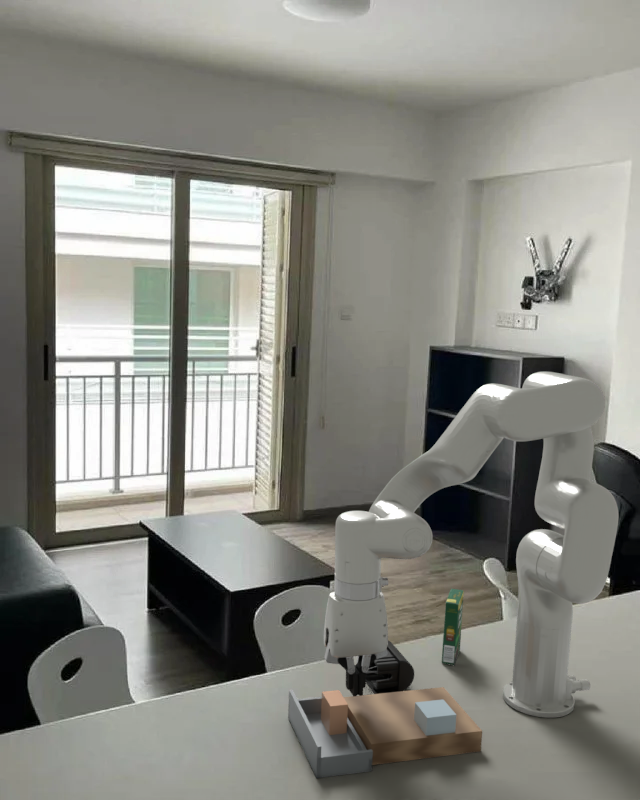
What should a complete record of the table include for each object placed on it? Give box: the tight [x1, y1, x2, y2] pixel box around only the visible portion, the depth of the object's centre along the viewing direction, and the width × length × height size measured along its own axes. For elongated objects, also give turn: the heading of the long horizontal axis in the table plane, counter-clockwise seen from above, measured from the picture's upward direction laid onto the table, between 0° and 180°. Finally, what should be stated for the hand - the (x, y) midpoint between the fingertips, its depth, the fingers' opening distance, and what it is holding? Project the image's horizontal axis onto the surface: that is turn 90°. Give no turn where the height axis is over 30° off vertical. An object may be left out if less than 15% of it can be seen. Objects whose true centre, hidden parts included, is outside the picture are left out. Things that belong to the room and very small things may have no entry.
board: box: [343, 686, 483, 766], centre depth 136 cm, size 19×15×4 cm
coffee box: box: [441, 588, 465, 666], centre depth 165 cm, size 8×3×13 cm, turn 163°
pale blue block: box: [414, 700, 456, 736], centre depth 132 cm, size 5×5×3 cm
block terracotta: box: [321, 689, 348, 735], centre depth 136 cm, size 5×5×3 cm
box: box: [287, 689, 373, 779], centre depth 132 cm, size 9×18×5 cm, turn 16°
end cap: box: [366, 639, 415, 694], centre depth 153 cm, size 10×7×7 cm
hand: (355, 691), depth 137 cm, fingers closed
